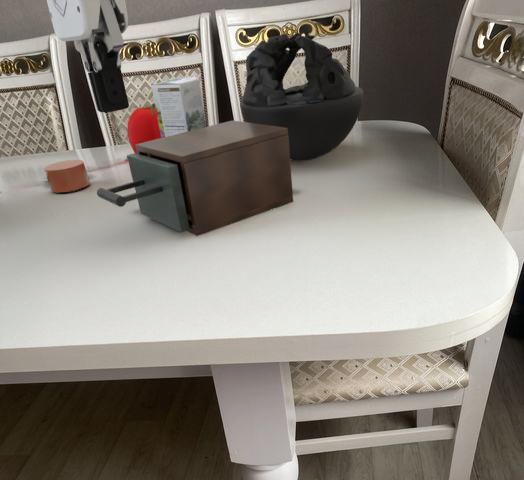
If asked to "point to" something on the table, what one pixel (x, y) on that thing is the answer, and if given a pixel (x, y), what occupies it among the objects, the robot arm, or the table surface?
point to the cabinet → (229, 171)
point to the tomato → (143, 126)
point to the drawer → (155, 190)
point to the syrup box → (178, 105)
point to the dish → (67, 176)
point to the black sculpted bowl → (301, 95)
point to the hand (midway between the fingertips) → (113, 109)
